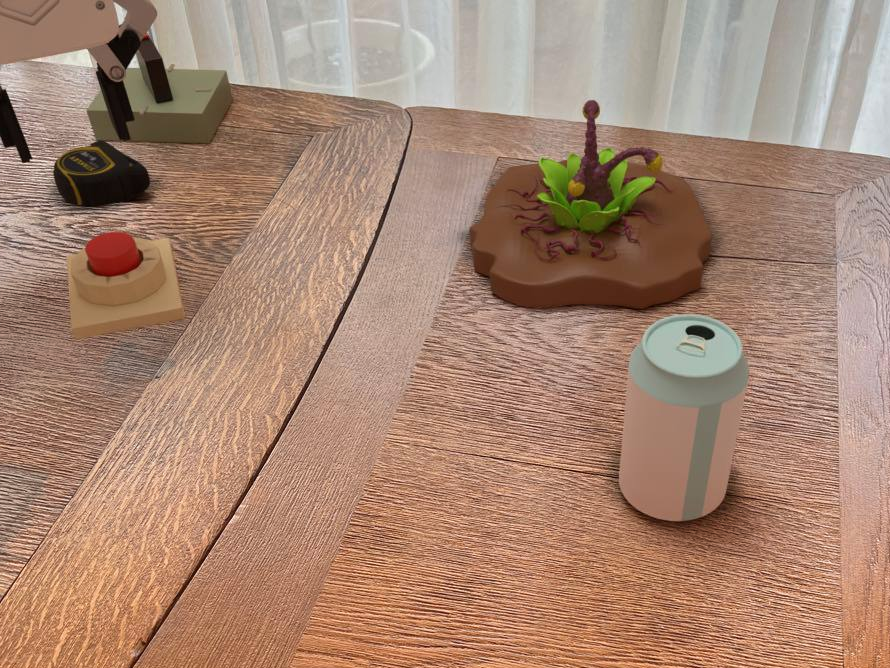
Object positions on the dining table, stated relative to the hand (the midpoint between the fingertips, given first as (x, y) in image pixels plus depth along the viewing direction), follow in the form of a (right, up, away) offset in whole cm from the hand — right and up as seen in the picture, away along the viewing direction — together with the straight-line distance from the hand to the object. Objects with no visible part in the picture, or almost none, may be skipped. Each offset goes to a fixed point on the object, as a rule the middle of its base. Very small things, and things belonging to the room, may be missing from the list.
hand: (73, 140), depth 71 cm
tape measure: (-6, +3, +21) cm, 22 cm away
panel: (-4, +14, +30) cm, 33 cm away
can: (+41, -24, -3) cm, 48 cm away
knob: (-4, +16, +28) cm, 32 cm away
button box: (0, -9, +10) cm, 14 cm away
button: (0, -7, +7) cm, 10 cm away
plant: (+36, -2, +16) cm, 40 cm away
